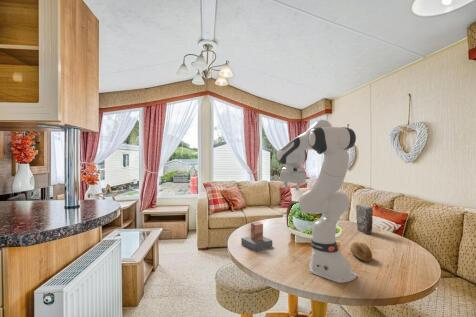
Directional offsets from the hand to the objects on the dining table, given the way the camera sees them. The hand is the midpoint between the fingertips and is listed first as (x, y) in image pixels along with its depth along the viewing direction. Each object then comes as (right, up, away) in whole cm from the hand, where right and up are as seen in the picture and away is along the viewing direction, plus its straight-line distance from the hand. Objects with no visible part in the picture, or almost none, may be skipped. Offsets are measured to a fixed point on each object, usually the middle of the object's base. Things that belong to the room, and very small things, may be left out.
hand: (291, 189), depth 166 cm
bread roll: (+34, -36, -23) cm, 54 cm away
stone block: (+60, -35, +25) cm, 74 cm away
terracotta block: (-23, -31, -4) cm, 39 cm away
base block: (-23, -35, -4) cm, 42 cm away
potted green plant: (+10, -35, +41) cm, 55 cm away
